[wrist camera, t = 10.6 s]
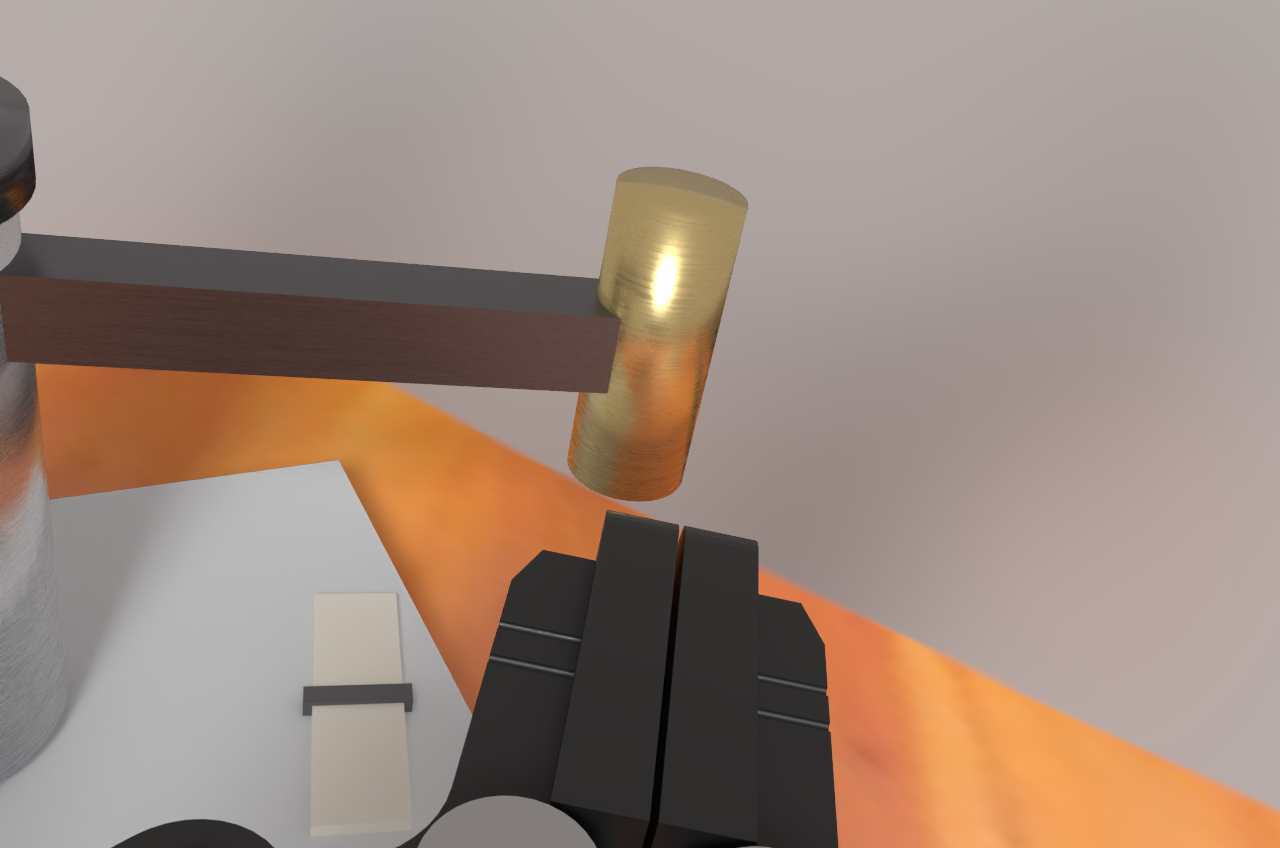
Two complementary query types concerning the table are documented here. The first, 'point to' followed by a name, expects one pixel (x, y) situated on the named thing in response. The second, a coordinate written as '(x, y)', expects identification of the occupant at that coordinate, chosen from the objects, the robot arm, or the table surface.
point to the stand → (238, 672)
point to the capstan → (346, 355)
